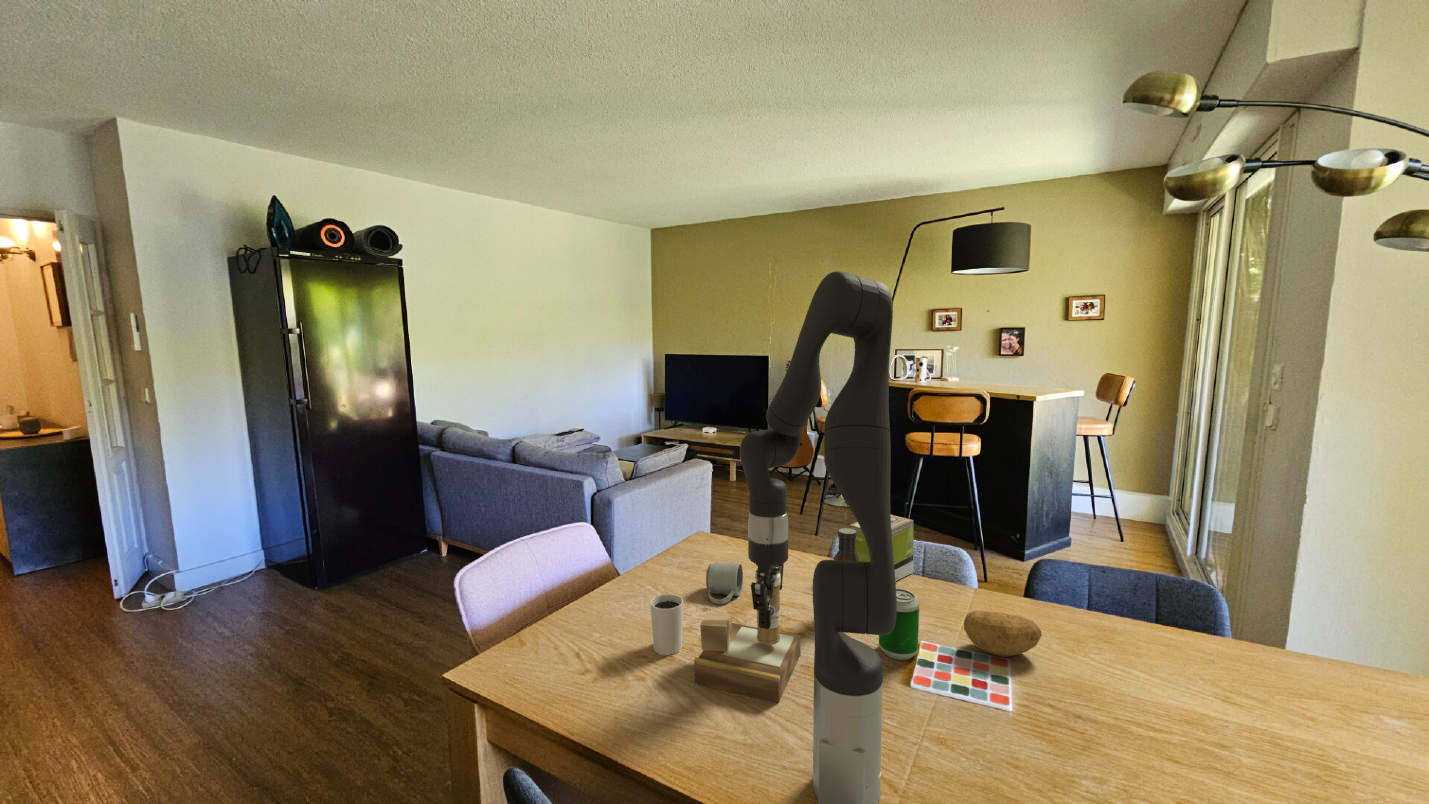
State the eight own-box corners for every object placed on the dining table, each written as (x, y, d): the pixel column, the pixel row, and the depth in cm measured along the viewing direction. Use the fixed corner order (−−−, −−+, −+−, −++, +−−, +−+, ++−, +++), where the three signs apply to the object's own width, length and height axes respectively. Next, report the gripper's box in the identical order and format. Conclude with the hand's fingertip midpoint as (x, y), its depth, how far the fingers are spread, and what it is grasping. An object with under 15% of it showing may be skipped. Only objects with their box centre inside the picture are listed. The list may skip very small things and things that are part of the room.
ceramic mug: (712, 584, 147) (711, 556, 146) (743, 587, 145) (743, 558, 144) (701, 604, 137) (700, 573, 136) (735, 607, 135) (734, 576, 134)
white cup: (646, 644, 119) (645, 598, 118) (676, 636, 122) (675, 591, 121) (658, 660, 113) (657, 612, 112) (689, 651, 116) (688, 604, 115)
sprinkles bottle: (761, 647, 107) (761, 579, 106) (753, 635, 112) (752, 569, 110) (784, 643, 109) (784, 575, 107) (775, 631, 113) (774, 566, 111)
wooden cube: (725, 626, 108) (731, 614, 113) (700, 625, 109) (706, 612, 114) (727, 651, 108) (732, 638, 113) (701, 650, 109) (708, 636, 114)
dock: (778, 703, 100) (778, 678, 99) (694, 683, 106) (694, 659, 105) (800, 654, 114) (800, 633, 114) (725, 639, 120) (725, 619, 120)
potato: (1047, 671, 108) (1049, 630, 107) (966, 661, 111) (968, 622, 110) (1032, 643, 117) (1034, 606, 116) (958, 635, 121) (960, 599, 120)
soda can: (920, 664, 111) (922, 605, 109) (880, 660, 112) (881, 602, 111) (915, 643, 118) (916, 588, 116) (877, 640, 119) (878, 585, 118)
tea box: (881, 562, 159) (882, 510, 158) (914, 573, 152) (915, 519, 150) (847, 577, 150) (848, 522, 148) (880, 590, 142) (882, 533, 140)
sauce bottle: (862, 624, 126) (863, 537, 124) (833, 622, 127) (834, 535, 125) (859, 609, 132) (860, 526, 130) (831, 608, 133) (832, 525, 131)
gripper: (776, 551, 100) (777, 644, 102) (797, 525, 113) (796, 607, 115) (736, 545, 102) (737, 636, 105) (760, 521, 116) (761, 601, 118)
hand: (768, 620), depth 110 cm, fingers closed on sprinkles bottle, 4 cm apart
